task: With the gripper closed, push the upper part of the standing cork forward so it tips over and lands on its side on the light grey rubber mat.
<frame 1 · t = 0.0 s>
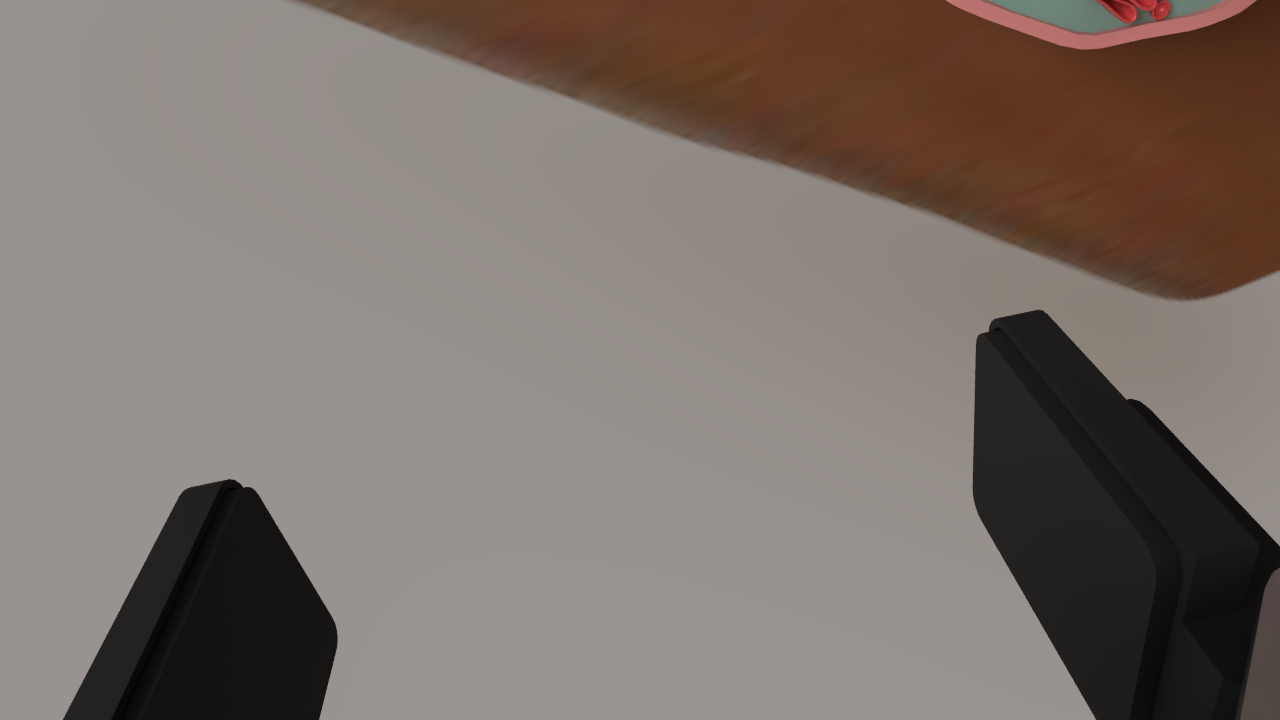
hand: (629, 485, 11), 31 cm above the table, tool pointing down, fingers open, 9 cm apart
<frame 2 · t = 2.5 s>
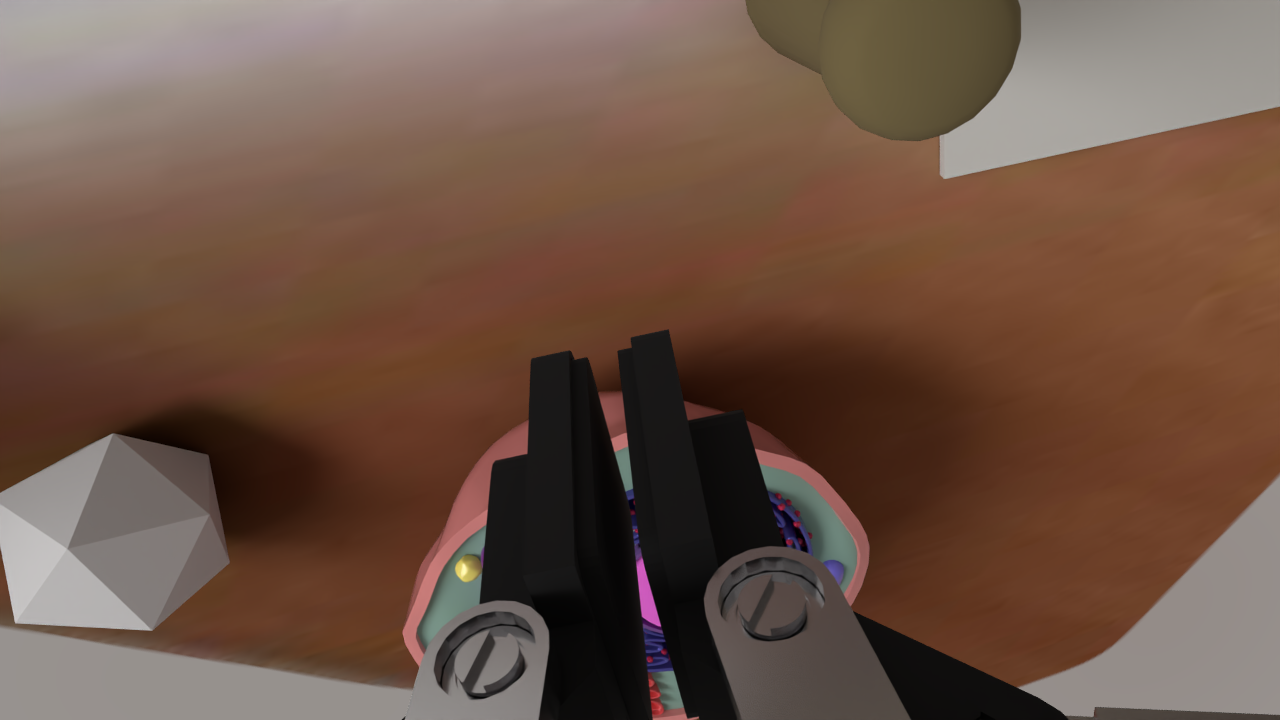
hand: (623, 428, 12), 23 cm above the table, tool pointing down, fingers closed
die: (154, 471, 41), on the table
cell model: (619, 474, 44), on the table
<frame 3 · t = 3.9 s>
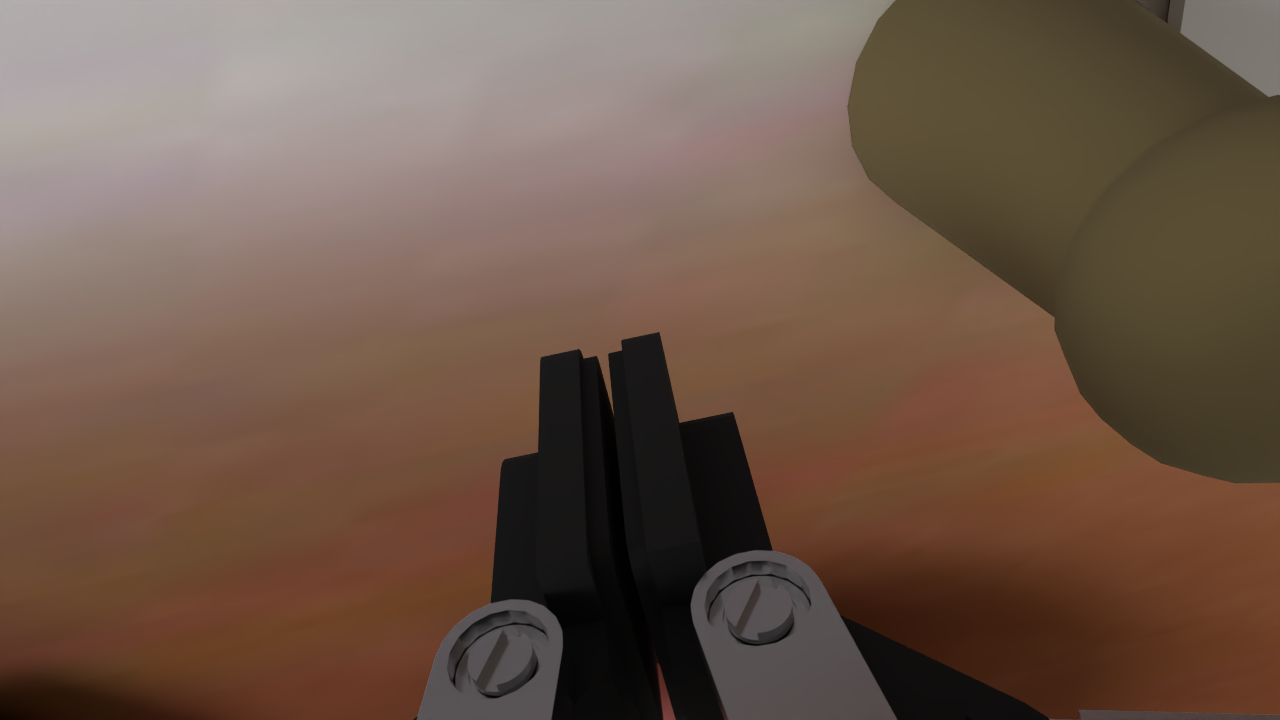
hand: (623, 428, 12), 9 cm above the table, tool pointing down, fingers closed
cork: (978, 87, 20), on the table
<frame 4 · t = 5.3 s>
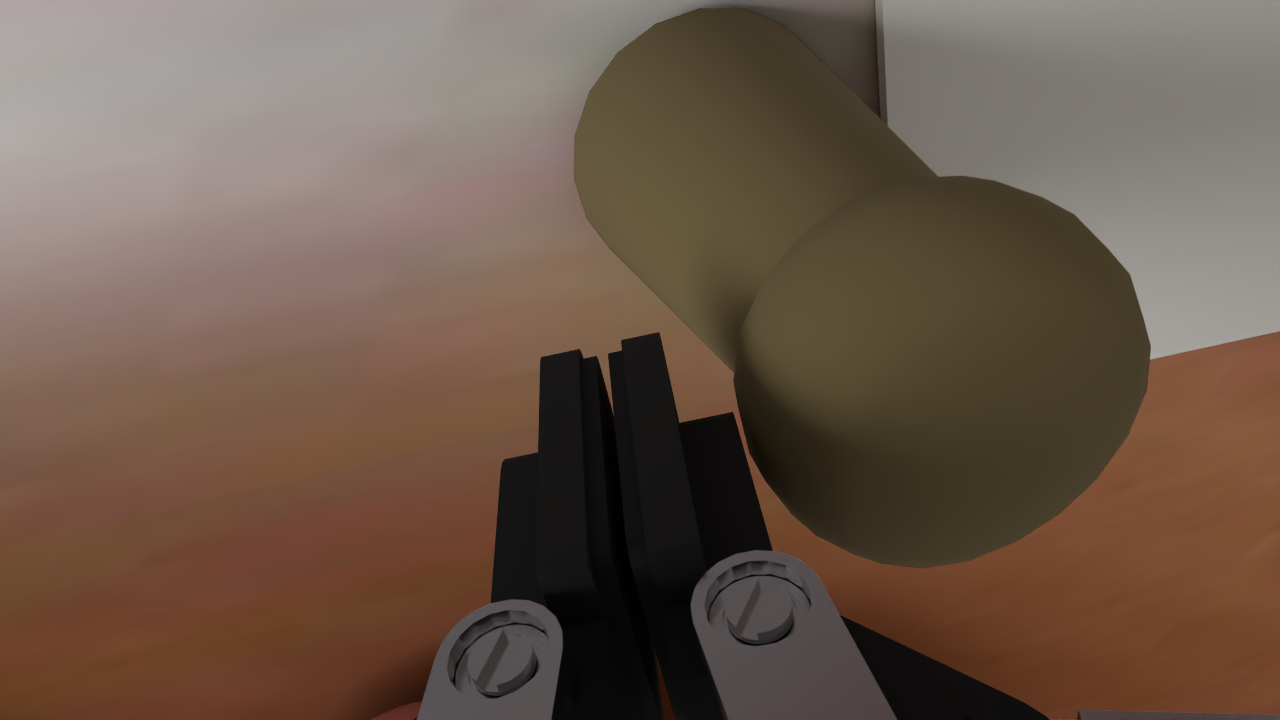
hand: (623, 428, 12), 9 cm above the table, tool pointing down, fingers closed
cork: (705, 150, 19), on the table
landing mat: (1232, 67, 20), on the table
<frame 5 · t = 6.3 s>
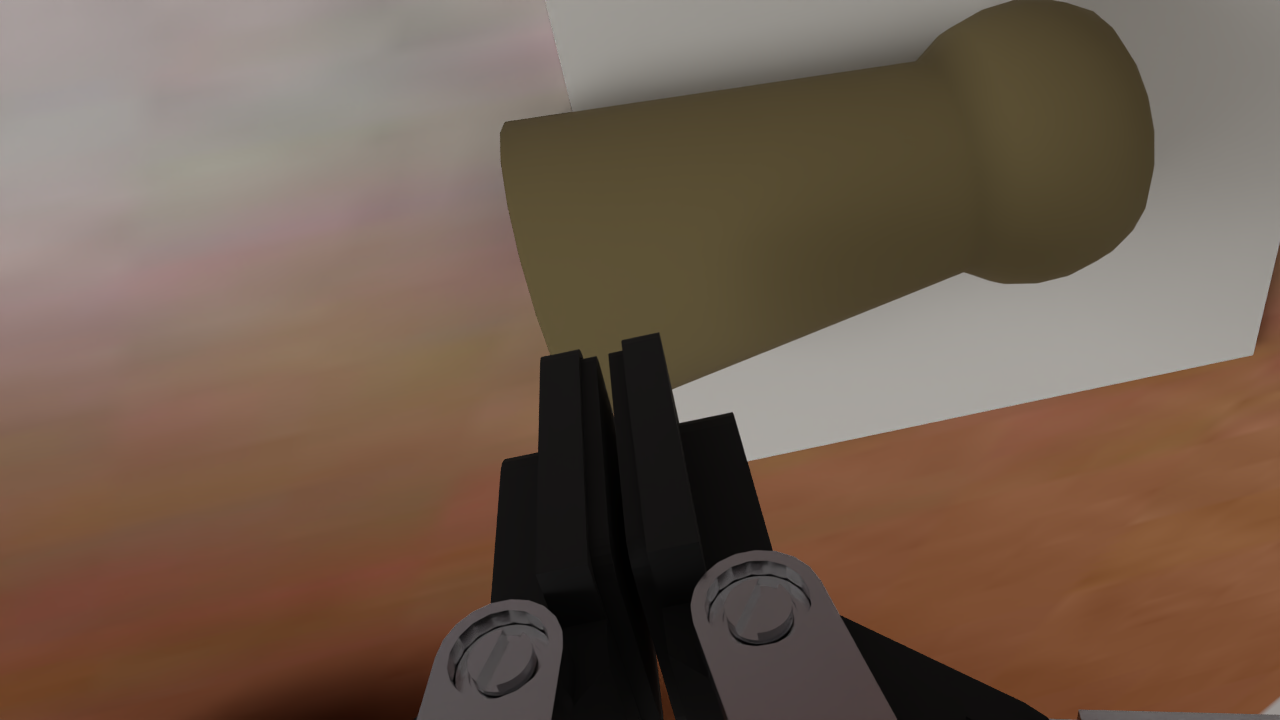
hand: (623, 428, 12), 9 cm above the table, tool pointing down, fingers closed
cork: (543, 276, 17), point 3 cm above the table, touching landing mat
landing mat: (946, 148, 20), on the table
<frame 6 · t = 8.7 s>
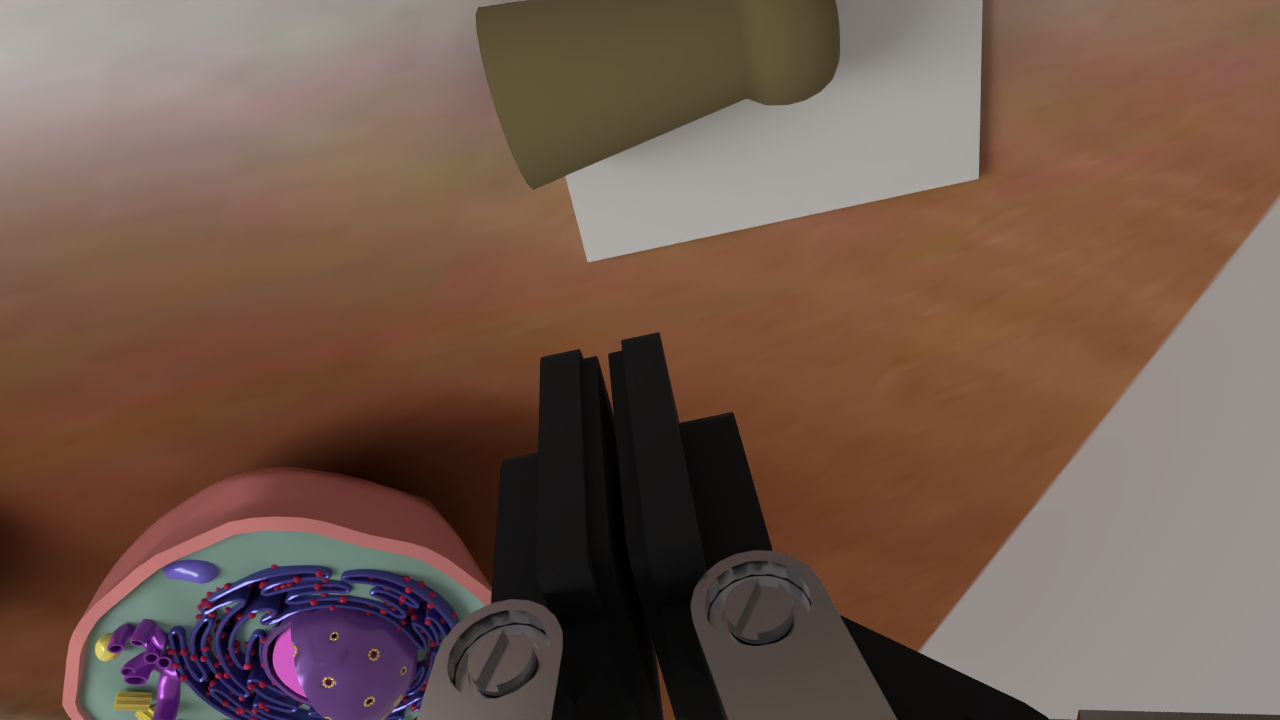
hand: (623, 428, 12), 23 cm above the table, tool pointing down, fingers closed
cork: (503, 102, 29), point 3 cm above the table, touching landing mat
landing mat: (756, 28, 32), on the table
cell model: (332, 539, 44), on the table
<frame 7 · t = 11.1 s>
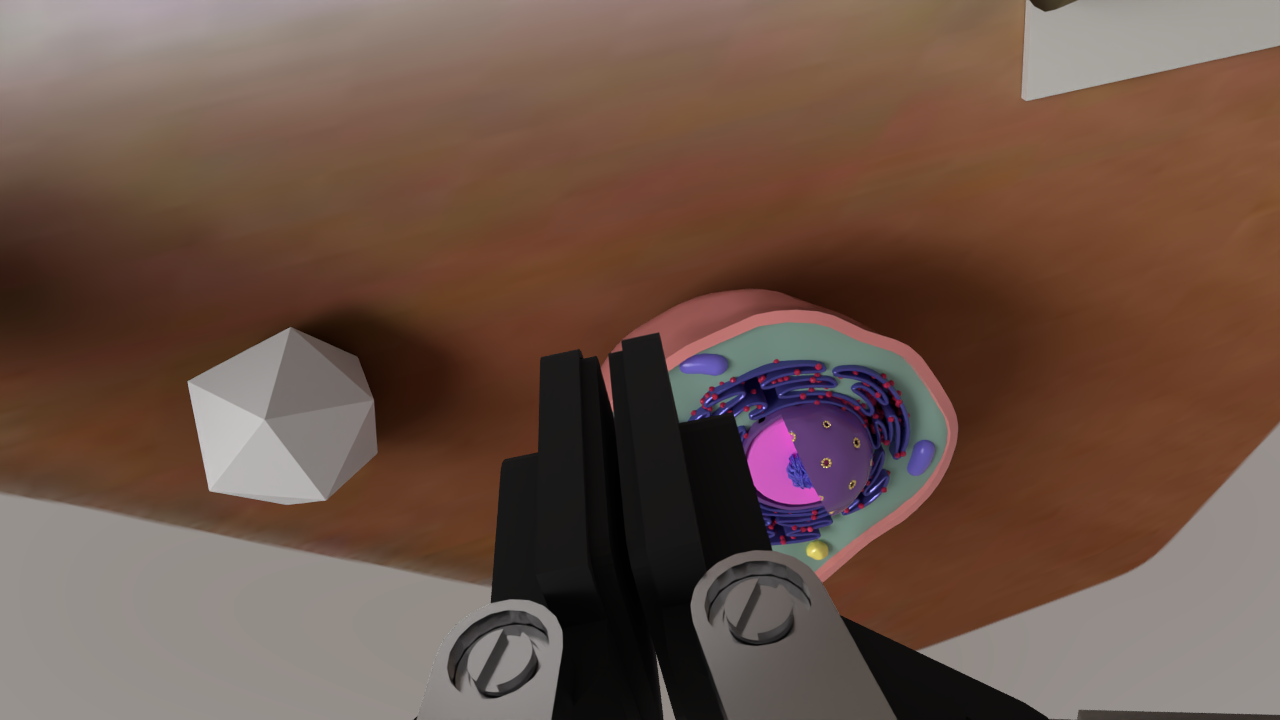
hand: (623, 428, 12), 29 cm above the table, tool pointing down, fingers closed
die: (307, 372, 46), on the table
cell model: (719, 381, 48), on the table
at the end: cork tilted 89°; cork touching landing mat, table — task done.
